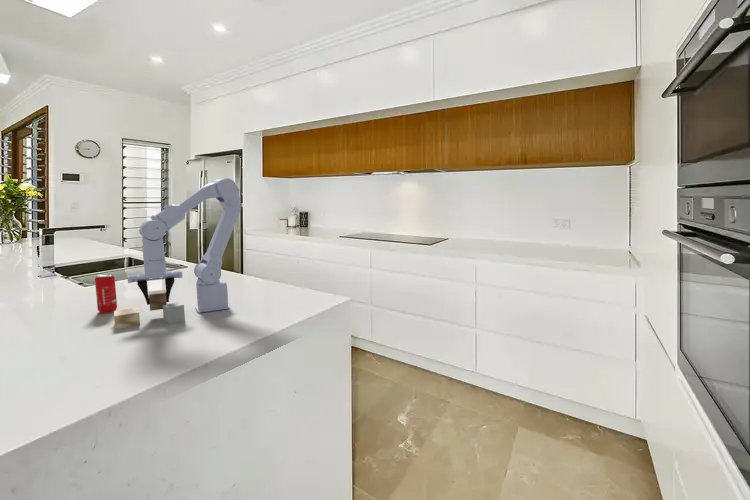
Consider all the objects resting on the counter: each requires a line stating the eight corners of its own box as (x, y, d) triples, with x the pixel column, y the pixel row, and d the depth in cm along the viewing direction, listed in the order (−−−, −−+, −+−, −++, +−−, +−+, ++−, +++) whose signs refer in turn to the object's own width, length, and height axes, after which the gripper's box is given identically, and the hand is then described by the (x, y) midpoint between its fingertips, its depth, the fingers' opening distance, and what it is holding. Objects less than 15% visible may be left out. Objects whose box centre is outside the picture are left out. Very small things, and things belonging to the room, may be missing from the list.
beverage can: (107, 314, 120) (104, 277, 118) (93, 313, 121) (90, 276, 119) (121, 309, 125) (118, 274, 123) (108, 308, 126) (105, 273, 124)
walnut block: (166, 305, 120) (165, 289, 119) (166, 308, 116) (165, 292, 115) (149, 307, 118) (148, 291, 117) (150, 310, 114) (148, 294, 113)
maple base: (139, 320, 115) (138, 307, 114) (140, 325, 110) (139, 312, 109) (115, 323, 111) (114, 310, 111) (115, 329, 106) (114, 316, 106)
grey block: (179, 317, 117) (178, 302, 116) (185, 321, 114) (184, 305, 113) (163, 321, 114) (162, 305, 113) (168, 324, 111) (167, 308, 110)
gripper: (179, 256, 122) (182, 296, 124) (126, 259, 114) (130, 303, 116) (181, 259, 116) (184, 301, 118) (125, 263, 108) (129, 308, 110)
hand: (158, 302), depth 117 cm, fingers closed on walnut block, 4 cm apart
